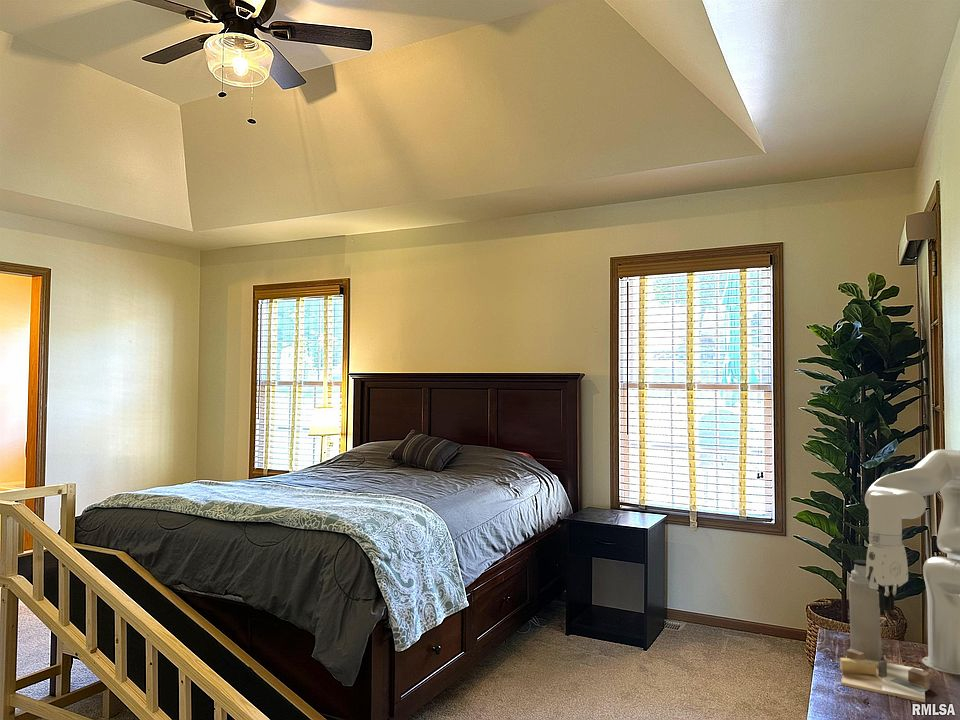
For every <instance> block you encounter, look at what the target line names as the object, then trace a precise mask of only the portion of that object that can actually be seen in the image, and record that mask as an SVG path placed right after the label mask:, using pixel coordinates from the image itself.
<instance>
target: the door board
mask: <svg viewBox="0 0 960 720" xmlns="http://www.w3.org/2000/svg"><path fill="white" fill-rule="evenodd" d="M845 658H850V659H856V660H867V659H865V653H863V652H860V651H857V650H854V649H851V648H848V649H846V655H845ZM868 661H872V660H868ZM874 663H875V664H876V675H873V674H862V673H850V672H842V675H841V680H840V681H841V682H840V686H845V687H850V688H853V689H859V690H863V691H867V692H868V691H869V692H872V693H877V694H882V695H883V694H884V695H887V694H888V695H887V696H891V695H892V696H891V697H896V696H897V697H896V698H901V699H907V700H912V701H916V702H921V703H926V694H925V693H926V692H927V691H928V690H930V685H931V684H930V681H931V680H930V672H928V671H925V670H924V669H923V668H917V667H912V666H906V665H902V664H895V663H890V662H887V661H886V660H883V659H881V660H878V661H874Z"/></svg>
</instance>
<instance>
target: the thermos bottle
mask: <svg viewBox="0 0 960 720" xmlns="http://www.w3.org/2000/svg"><path fill="white" fill-rule="evenodd" d="M853 563H854V567H853V570H851V571H850V573H851V574H850V576H851V577H849V578H848V593H849V595H848V597H849V600H848V601H849V624H850V625H849V627H850V629H849V630H850V637H849V638H850V649H854V650H857V651H860V652H863V653H865V659H867V660H872V661H879V660H882V659H883V658H882V633H881V632H882V630H881V609H880V608H879V593H877V590H876V589H872V588H870V587H869V581H868V580H867V577H866V560H865V559H854V560H853Z"/></svg>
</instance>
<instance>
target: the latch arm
mask: <svg viewBox="0 0 960 720" xmlns="http://www.w3.org/2000/svg"><path fill="white" fill-rule="evenodd" d="M839 670H840V671H841V672H842V673H843V672H850V673H862V674H873V675H876V664H875V663H874V661H868V660H856V659H850V658H846V657H839Z"/></svg>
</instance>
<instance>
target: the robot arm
mask: <svg viewBox="0 0 960 720" xmlns="http://www.w3.org/2000/svg"><path fill="white" fill-rule="evenodd" d="M938 492H939V493H940V496H941V498H942V502H943V506H942V507H943V509H942V513H941V518H940V523H939V527H938V531H937V537H936V546H937V549H939V550H940V551H941V552H942V553H944V554H948V555H950V556H955V557H960V450H956V449H955V450H954V449H940V448H939V449H935V450H932V451H931V452H929V453H928V454H927V455H926V456H925V457H924V458H922V459H921V460H920V461H918V463H917V464H915V466H913V467H912V468H909V469H908V468H907V469H903V470H901V471H896V472H893V473H889V474H886V475H884V476H882V477H880V478H878V479H877V480H876V481H874V482H873V483H872V484H871V485H870V486H869V487H868V488H867V490H866V493H865V495H864V504H865V506H866V508H867V509H868V542H869V543H868V545H867V546H868V547H867V549H866V577H867V580H868V581H869V587H870V588H872V589H876V590H877V593H879V608H880V610H883V611H886V612H893V611H895V596H896V594H897V591H898V588H899V587H902V586H903V585H904V584H906V583H907V582H909V567H908V565H909V564H908V558H907V552H906V548H905V545H904V544H903V526H902V525H903V521H902V520H904V519H906V520H913V519H918V518H920V517H921V516H923V515H924V514H925V511H926V508H927V502H926V500H925V496H931V495H935V494H937V493H938ZM922 573H923V579H924V582H925V583H924V584H925V589H926V599H927V653H928V655H927V656H925V657H923V658H921V661H922V664H924V665H925V666H927V667H928V668H930V669H932V670H935V671H939V672H941V673H944V674H945V673H946V674H951V675H957V676H958V675H960V559H956V558H951V557H945V556H932V557H930V558H927V559H926V560H925V561H924V564H923V566H922Z"/></svg>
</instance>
